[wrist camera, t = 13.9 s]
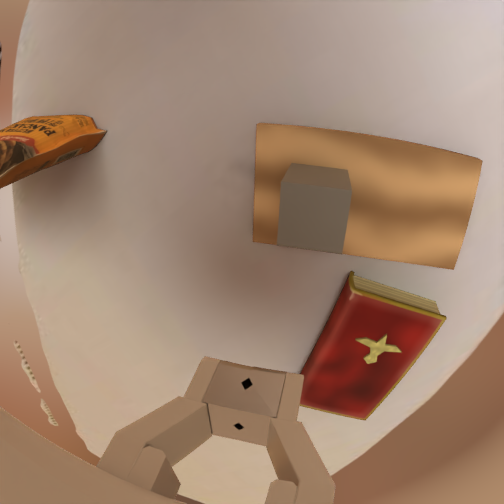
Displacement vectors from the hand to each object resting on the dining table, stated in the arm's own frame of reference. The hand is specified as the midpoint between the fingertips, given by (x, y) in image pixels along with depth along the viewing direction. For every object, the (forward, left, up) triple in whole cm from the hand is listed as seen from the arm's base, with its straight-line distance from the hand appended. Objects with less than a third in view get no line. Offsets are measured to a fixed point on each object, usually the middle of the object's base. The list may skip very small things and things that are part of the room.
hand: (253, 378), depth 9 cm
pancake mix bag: (-4, -31, -25) cm, 40 cm away
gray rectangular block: (+1, +1, -23) cm, 23 cm away
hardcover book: (+21, +9, -25) cm, 34 cm away
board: (+1, +6, -24) cm, 25 cm away
